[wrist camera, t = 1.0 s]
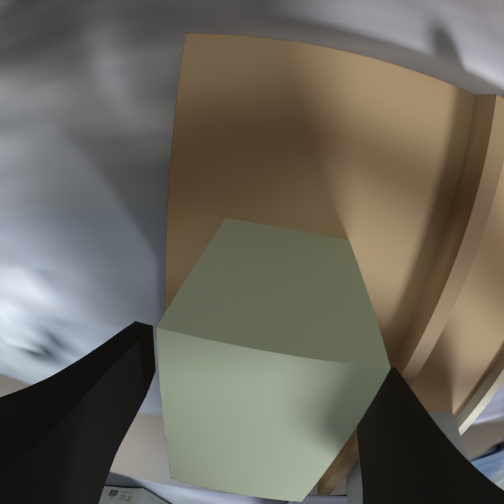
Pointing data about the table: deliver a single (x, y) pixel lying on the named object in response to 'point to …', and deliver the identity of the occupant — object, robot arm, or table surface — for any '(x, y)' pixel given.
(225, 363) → the sage carton
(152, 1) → the table surface
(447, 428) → the slate carton
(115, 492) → the tea box
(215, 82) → the display board
